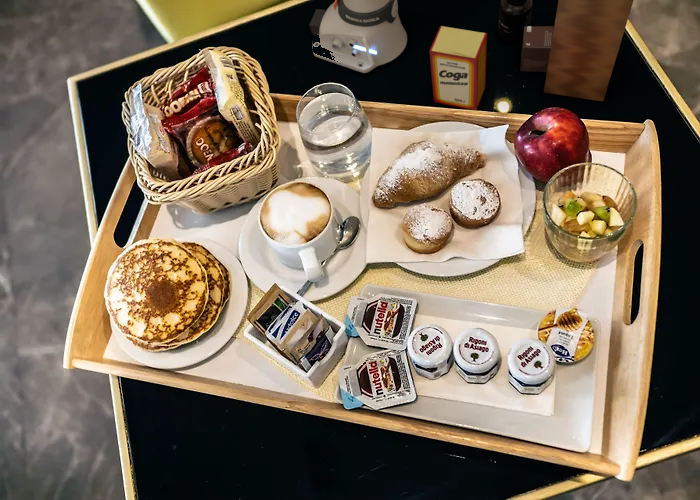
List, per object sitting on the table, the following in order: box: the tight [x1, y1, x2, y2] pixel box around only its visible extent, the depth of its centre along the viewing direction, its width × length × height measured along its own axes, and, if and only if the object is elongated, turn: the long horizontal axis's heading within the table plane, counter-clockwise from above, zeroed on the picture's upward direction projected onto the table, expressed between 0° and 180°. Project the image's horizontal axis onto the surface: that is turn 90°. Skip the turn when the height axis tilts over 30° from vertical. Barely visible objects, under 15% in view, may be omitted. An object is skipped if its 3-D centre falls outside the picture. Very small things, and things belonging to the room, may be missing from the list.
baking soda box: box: [429, 25, 488, 111], centre depth 124 cm, size 10×6×16 cm
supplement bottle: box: [497, 0, 534, 43], centre depth 131 cm, size 7×7×12 cm
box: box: [519, 25, 554, 73], centre depth 128 cm, size 6×6×7 cm
